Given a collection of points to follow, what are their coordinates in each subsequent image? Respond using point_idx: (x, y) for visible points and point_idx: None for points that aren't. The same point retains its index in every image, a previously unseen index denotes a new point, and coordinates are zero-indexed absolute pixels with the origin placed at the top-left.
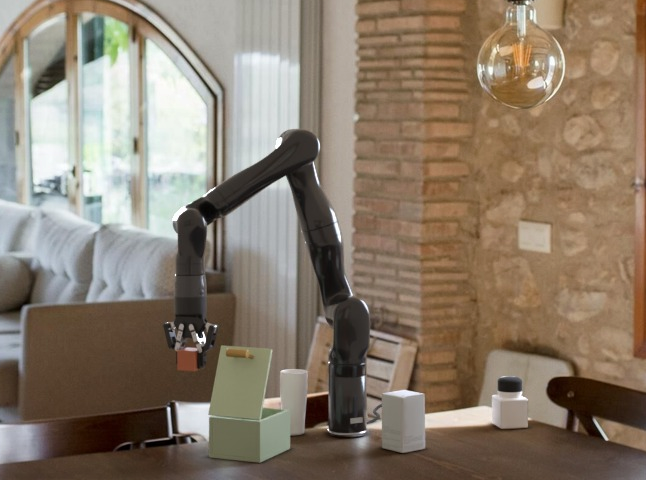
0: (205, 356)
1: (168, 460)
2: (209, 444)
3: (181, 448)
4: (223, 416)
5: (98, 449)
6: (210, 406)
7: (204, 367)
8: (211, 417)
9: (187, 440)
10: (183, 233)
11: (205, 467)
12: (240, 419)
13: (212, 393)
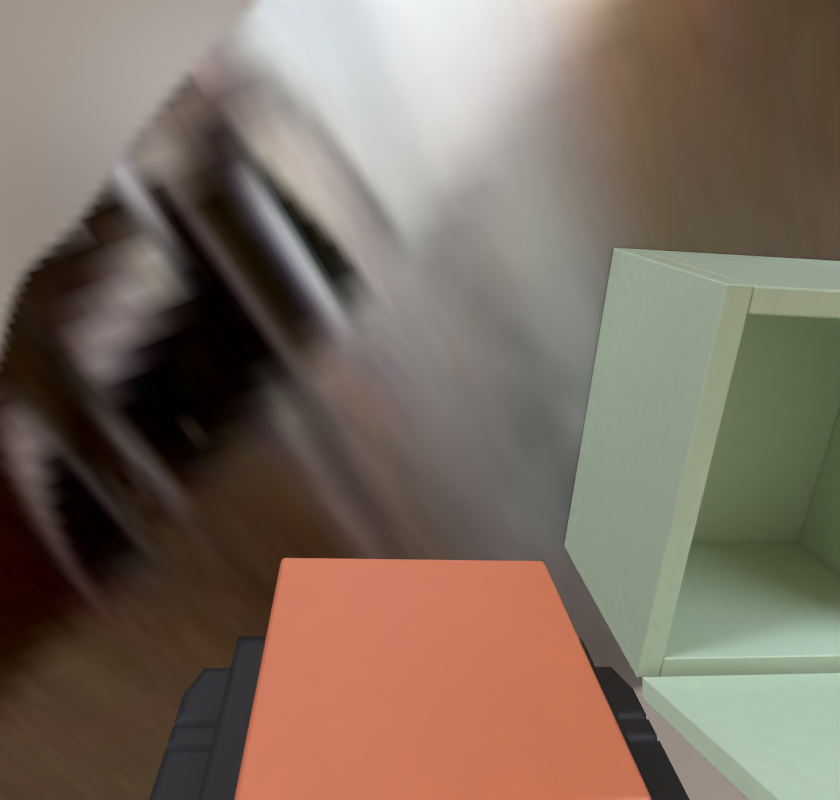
0: (672, 794)
1: None
2: (585, 579)
3: (364, 446)
4: (730, 676)
5: (2, 603)
6: (671, 720)
7: (545, 571)
8: (651, 675)
9: (296, 273)
10: None
11: None
12: (828, 665)
13: (718, 769)
